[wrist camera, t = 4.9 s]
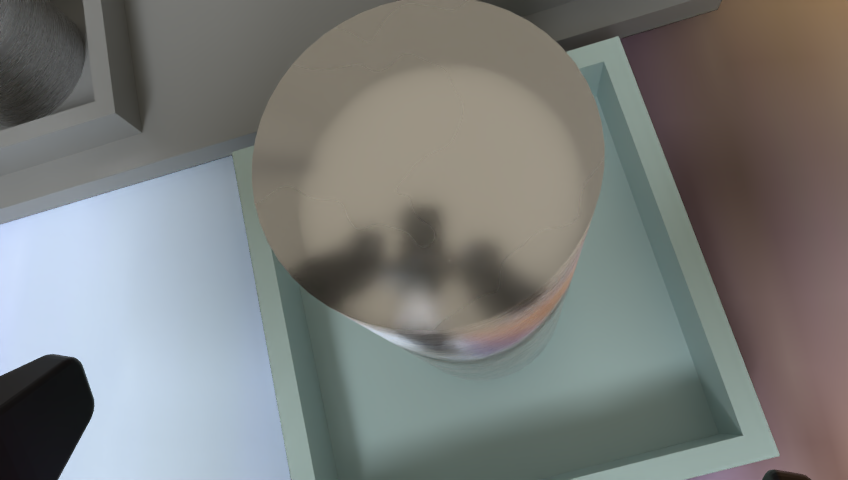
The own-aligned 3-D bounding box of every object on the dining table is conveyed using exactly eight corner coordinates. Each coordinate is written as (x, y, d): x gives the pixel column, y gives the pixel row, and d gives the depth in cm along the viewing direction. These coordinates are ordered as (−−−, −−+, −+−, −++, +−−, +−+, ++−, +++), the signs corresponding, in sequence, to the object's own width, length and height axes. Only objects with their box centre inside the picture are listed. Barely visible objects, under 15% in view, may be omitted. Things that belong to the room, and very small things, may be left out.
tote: (339, 551, 19) (308, 573, 16) (267, 184, 22) (232, 152, 19) (741, 450, 18) (779, 455, 15) (606, 84, 21) (618, 36, 18)
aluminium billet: (421, 399, 19) (286, 373, 8) (385, 247, 20) (226, 53, 9) (581, 356, 18) (657, 272, 8) (533, 204, 20) (543, -46, 9)
